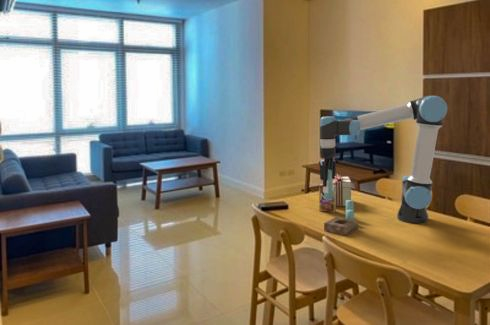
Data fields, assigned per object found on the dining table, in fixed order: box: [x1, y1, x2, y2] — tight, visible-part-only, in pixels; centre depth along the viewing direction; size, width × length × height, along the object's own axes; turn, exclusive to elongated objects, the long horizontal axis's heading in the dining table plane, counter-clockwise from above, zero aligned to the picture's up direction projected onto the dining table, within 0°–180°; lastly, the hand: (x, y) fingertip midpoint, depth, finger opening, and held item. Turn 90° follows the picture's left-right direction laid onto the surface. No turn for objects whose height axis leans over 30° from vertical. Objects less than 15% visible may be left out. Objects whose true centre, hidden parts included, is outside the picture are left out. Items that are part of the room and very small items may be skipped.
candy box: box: [318, 183, 337, 213], centre depth 237 cm, size 9×4×15 cm, turn 61°
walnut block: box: [323, 216, 359, 236], centre depth 206 cm, size 12×12×4 cm
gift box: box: [319, 173, 353, 207], centre depth 252 cm, size 17×18×17 cm
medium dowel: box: [345, 199, 355, 211], centre depth 222 cm, size 4×4×10 cm
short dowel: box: [345, 209, 355, 221], centre depth 214 cm, size 4×4×7 cm
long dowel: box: [324, 170, 332, 200], centre depth 216 cm, size 4×4×15 cm
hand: (328, 191), depth 216 cm, fingers closed on long dowel, 4 cm apart
